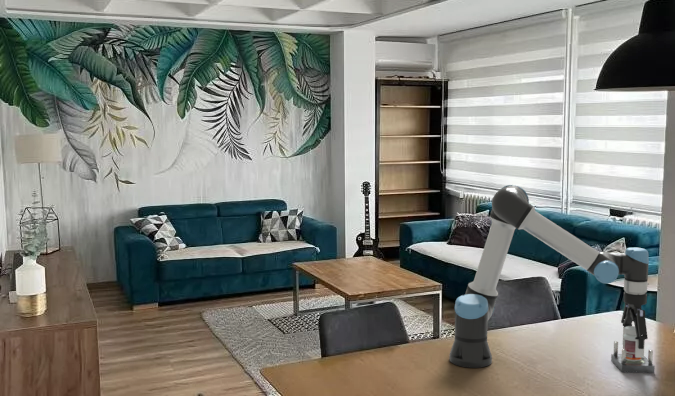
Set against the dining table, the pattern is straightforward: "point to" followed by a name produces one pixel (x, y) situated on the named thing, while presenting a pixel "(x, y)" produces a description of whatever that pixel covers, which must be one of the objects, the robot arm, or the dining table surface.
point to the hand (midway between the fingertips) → (632, 350)
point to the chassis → (632, 362)
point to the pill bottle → (630, 343)
